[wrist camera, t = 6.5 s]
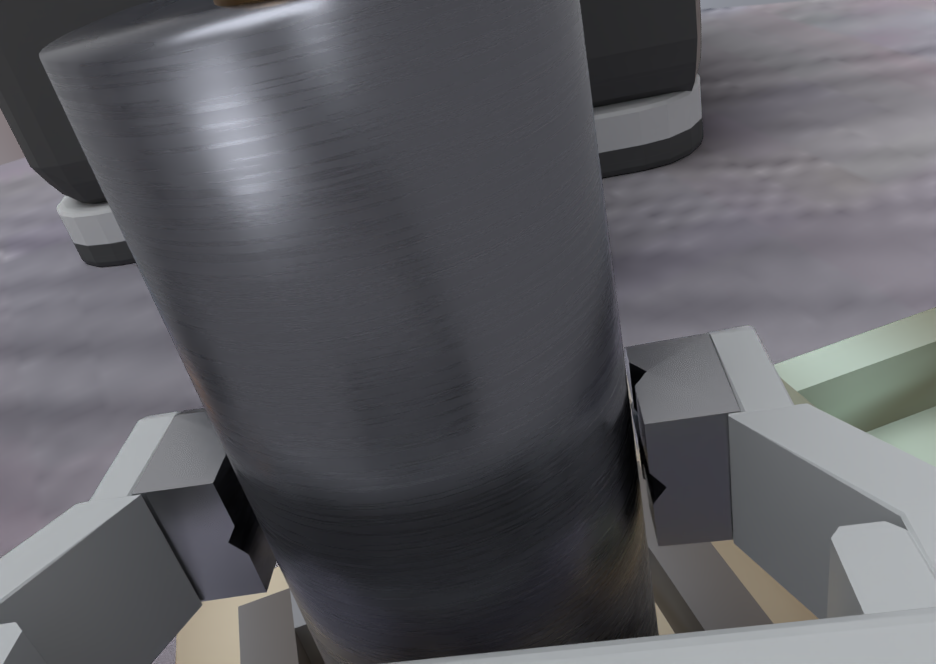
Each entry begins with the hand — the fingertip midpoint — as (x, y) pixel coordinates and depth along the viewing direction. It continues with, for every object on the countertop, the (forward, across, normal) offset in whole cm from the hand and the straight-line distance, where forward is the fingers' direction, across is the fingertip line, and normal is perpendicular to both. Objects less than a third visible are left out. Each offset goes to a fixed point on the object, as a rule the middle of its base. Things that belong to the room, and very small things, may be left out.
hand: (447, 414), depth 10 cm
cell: (-1, 0, +7) cm, 7 cm away
